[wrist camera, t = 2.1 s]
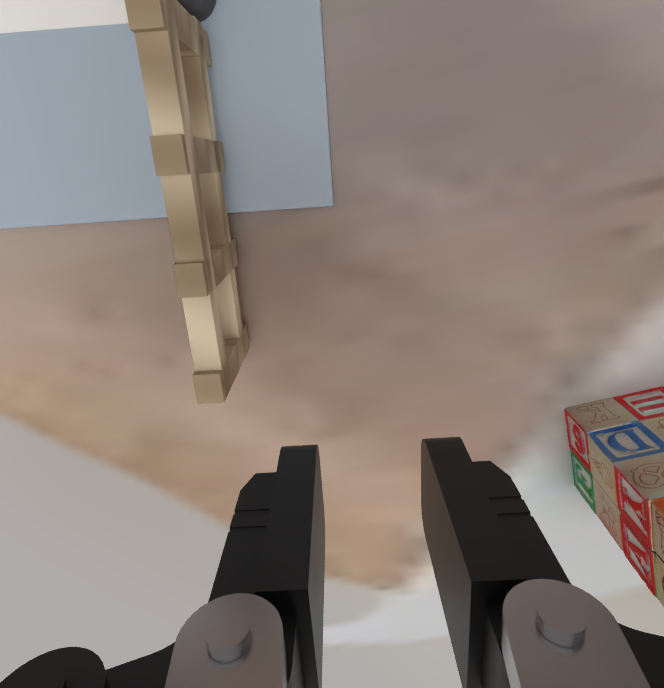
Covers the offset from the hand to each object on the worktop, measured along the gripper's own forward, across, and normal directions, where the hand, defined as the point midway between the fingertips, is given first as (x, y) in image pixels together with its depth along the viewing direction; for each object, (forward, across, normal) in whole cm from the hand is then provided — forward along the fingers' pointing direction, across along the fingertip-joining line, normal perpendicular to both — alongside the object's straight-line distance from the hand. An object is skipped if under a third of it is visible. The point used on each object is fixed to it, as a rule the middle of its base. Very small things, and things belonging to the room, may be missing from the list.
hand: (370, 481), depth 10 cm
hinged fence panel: (+18, +6, -4) cm, 20 cm away
